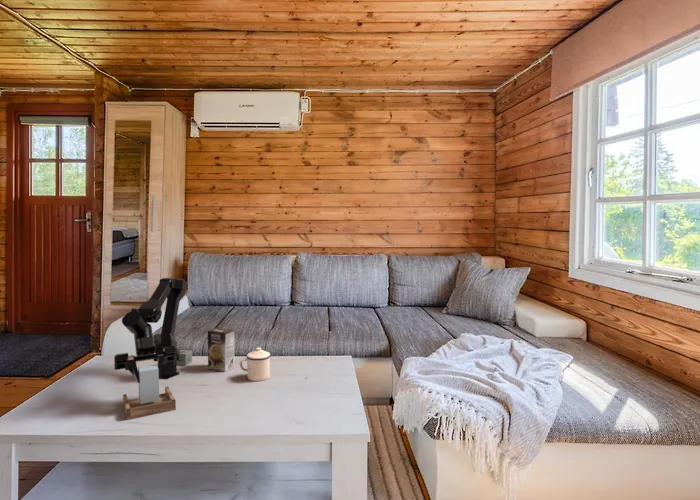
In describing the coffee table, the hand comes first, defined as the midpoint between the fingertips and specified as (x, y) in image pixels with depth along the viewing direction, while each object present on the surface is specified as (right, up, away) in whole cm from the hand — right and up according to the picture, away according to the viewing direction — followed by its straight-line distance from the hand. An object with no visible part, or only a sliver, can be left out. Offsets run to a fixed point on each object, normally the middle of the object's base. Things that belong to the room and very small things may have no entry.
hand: (149, 380), depth 140 cm
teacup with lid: (+28, -8, +29) cm, 41 cm away
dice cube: (-6, -6, +45) cm, 46 cm away
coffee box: (+12, -7, +39) cm, 41 cm away
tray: (-1, -9, +2) cm, 9 cm away
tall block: (-1, -7, +2) cm, 7 cm away
